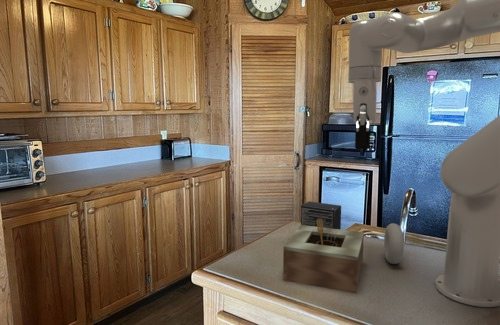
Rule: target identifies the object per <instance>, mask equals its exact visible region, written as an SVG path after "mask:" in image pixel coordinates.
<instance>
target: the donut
mask: <svg viewBox="0 0 500 325" xmlns="http://www.w3.org/2000/svg"><path fill="white" fill-rule="evenodd" d="M404 241H405V240H404V233H403V230H402V228H401V226H400V225H399V224H397V223H390V224H388V225H387V226H386V228H385V231H384V240H383V242H384V243H383V244H384V245H383V250H384V256H385V259H386V261H387V262H388V263H390V264H392V265H397V264H399V263H400V262H401V261H402V259H403V255H404V250H405V249H404V248H405V247H404V246H405V242H404Z"/></svg>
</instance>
